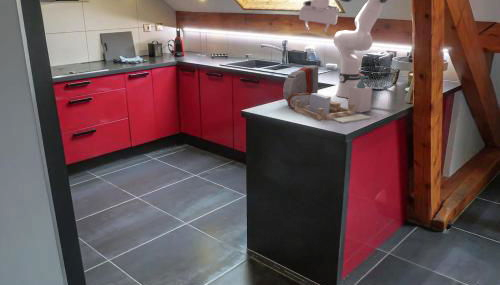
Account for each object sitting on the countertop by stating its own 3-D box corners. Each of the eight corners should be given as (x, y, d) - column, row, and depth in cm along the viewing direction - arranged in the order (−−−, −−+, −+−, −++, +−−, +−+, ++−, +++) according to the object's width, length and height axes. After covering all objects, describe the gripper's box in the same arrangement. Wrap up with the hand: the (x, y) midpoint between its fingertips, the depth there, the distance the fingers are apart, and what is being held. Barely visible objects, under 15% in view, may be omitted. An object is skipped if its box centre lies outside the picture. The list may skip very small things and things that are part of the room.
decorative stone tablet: (310, 63, 253) (281, 74, 232) (320, 65, 249) (291, 75, 228) (310, 95, 260) (281, 108, 239) (319, 96, 256) (291, 110, 235)
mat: (360, 115, 221) (361, 114, 220) (370, 118, 215) (370, 117, 215) (332, 119, 212) (332, 118, 211) (342, 123, 206) (342, 122, 206)
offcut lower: (327, 110, 231) (328, 105, 230) (342, 115, 222) (342, 109, 221) (320, 111, 228) (321, 106, 228) (335, 116, 220) (335, 110, 219)
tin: (311, 106, 237) (312, 91, 234) (313, 107, 234) (314, 92, 231) (286, 108, 232) (287, 93, 229) (289, 109, 229) (289, 94, 227)
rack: (327, 106, 237) (328, 96, 235) (353, 115, 220) (354, 104, 218) (294, 111, 226) (295, 100, 224) (319, 121, 209) (320, 109, 207)
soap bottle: (359, 112, 225) (363, 77, 219) (347, 109, 232) (350, 74, 225) (370, 110, 230) (374, 75, 224) (357, 107, 236) (361, 73, 230)
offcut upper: (326, 105, 229) (327, 100, 228) (340, 108, 223) (340, 103, 222) (321, 106, 226) (322, 101, 225) (335, 110, 220) (335, 104, 219)
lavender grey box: (314, 111, 227) (315, 92, 224) (328, 116, 217) (330, 97, 214) (309, 111, 226) (310, 93, 222) (324, 117, 216) (325, 98, 212)
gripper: (340, 7, 224) (335, 34, 228) (303, 2, 229) (298, 28, 234) (339, 6, 218) (333, 34, 222) (300, 1, 224) (296, 28, 228)
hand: (315, 31), depth 228 cm, fingers open, 8 cm apart
